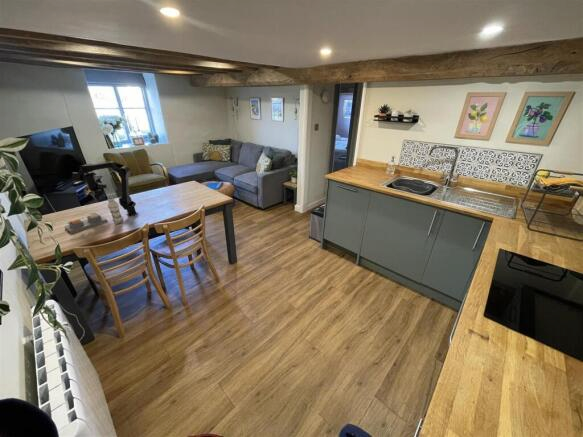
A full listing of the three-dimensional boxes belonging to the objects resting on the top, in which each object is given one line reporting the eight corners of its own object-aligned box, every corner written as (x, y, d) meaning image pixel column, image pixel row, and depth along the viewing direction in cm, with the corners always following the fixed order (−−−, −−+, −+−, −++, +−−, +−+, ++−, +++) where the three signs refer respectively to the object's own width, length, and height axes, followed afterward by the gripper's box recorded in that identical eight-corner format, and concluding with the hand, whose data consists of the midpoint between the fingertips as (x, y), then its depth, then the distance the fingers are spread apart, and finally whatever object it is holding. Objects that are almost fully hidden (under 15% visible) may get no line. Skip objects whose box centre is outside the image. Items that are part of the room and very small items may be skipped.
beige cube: (99, 217, 177) (97, 213, 176) (92, 220, 174) (90, 215, 173) (96, 216, 180) (94, 212, 178) (89, 218, 176) (87, 214, 175)
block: (107, 221, 180) (105, 215, 177) (72, 233, 163) (69, 227, 161) (100, 217, 185) (98, 211, 183) (65, 228, 169) (62, 222, 167)
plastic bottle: (122, 220, 183) (114, 196, 173) (125, 222, 179) (117, 198, 170) (112, 222, 178) (103, 198, 169) (115, 225, 174) (106, 201, 165)
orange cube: (81, 223, 169) (79, 219, 168) (73, 225, 166) (71, 221, 164) (78, 221, 171) (76, 217, 170) (71, 224, 168) (69, 219, 166)
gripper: (108, 181, 177) (115, 200, 184) (97, 176, 186) (104, 194, 193) (91, 184, 169) (98, 204, 176) (80, 180, 178) (88, 199, 185)
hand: (98, 200), depth 183 cm, fingers closed
